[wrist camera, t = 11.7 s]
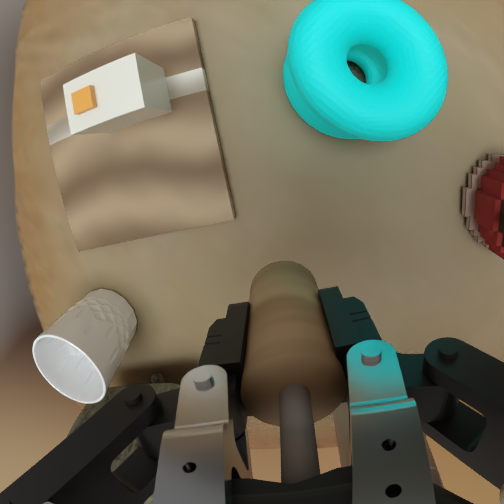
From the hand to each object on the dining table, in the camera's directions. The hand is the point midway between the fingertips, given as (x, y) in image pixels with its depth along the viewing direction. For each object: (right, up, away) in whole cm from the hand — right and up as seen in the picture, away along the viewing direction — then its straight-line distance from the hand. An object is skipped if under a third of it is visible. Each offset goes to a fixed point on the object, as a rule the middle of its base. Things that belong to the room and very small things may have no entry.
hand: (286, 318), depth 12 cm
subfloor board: (-12, +13, +14) cm, 22 cm away
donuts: (+6, +17, +12) cm, 21 cm away
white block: (-11, +15, +12) cm, 22 cm away
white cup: (-17, -4, +21) cm, 27 cm away
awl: (0, +1, +2) cm, 2 cm away
